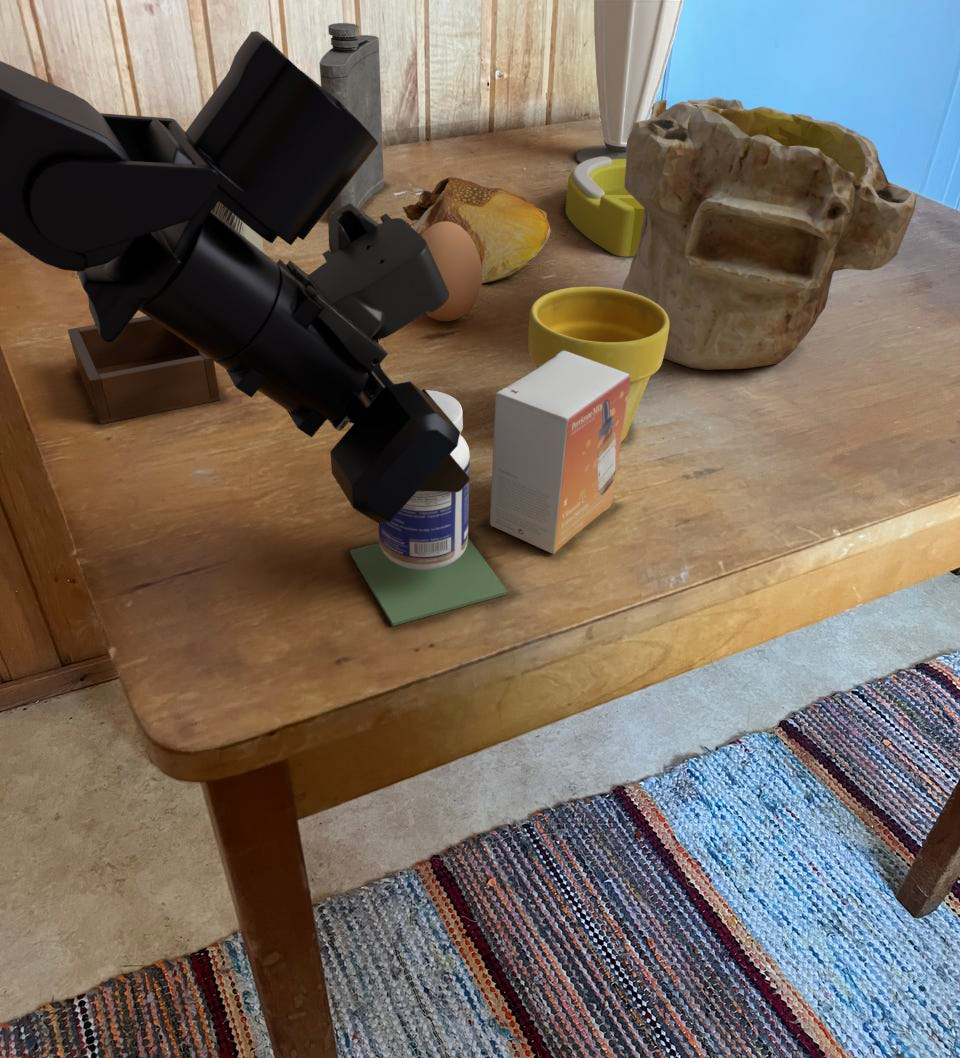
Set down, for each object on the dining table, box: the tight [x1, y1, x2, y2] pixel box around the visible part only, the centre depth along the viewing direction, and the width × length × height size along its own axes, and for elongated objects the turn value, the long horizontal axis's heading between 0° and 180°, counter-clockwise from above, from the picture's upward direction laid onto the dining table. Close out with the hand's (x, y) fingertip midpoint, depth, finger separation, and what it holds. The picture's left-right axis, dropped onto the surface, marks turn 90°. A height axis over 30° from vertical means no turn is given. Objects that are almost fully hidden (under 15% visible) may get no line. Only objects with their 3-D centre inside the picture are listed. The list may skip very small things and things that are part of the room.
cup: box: [576, 0, 685, 164], centre depth 122 cm, size 12×12×22 cm
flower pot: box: [527, 286, 670, 443], centre depth 76 cm, size 10×10×10 cm
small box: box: [489, 351, 631, 555], centre depth 67 cm, size 8×6×10 cm
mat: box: [349, 537, 508, 627], centre depth 65 cm, size 8×8×1 cm
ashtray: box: [565, 157, 644, 257], centre depth 112 cm, size 16×21×5 cm
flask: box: [319, 22, 385, 216], centre depth 109 cm, size 4×14×18 cm, turn 168°
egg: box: [422, 221, 483, 322], centre depth 90 cm, size 7×7×9 cm
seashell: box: [402, 176, 551, 284], centre depth 104 cm, size 17×8×15 cm
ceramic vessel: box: [621, 96, 917, 371], centre depth 84 cm, size 23×24×25 cm
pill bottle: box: [378, 389, 471, 570], centre depth 60 cm, size 6×6×10 cm
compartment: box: [67, 315, 221, 425], centre depth 81 cm, size 10×10×4 cm
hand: (443, 458), depth 60 cm, fingers closed on pill bottle, 6 cm apart
